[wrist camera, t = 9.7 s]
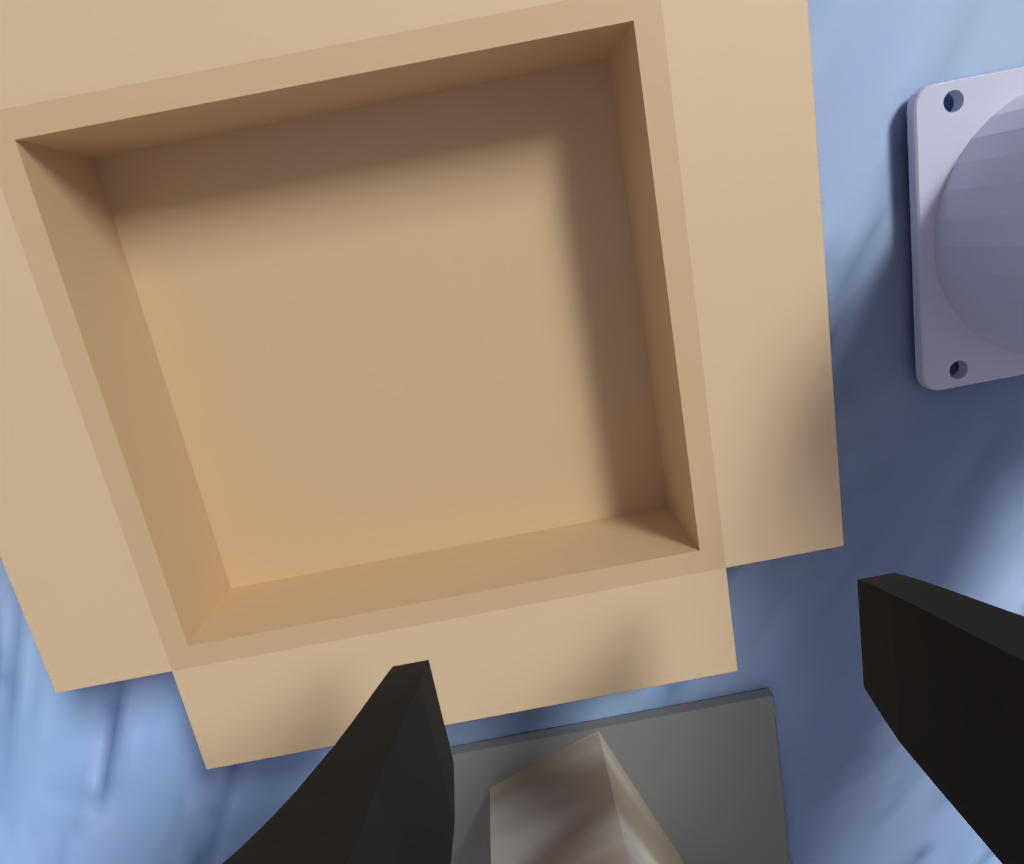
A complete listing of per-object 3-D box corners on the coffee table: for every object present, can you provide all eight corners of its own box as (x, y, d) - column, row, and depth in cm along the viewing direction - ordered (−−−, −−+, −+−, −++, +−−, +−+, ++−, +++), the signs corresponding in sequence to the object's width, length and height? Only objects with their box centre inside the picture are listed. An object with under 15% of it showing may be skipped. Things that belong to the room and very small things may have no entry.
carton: (730, -127, 17) (792, -222, 14) (793, 587, 22) (850, 649, 18) (-92, 32, 17) (-234, -22, 14) (154, 706, 22) (95, 790, 19)
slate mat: (768, 687, 23) (773, 695, 22) (792, 926, 25) (797, 937, 25) (402, 755, 23) (400, 764, 22) (463, 987, 25) (463, 998, 25)
